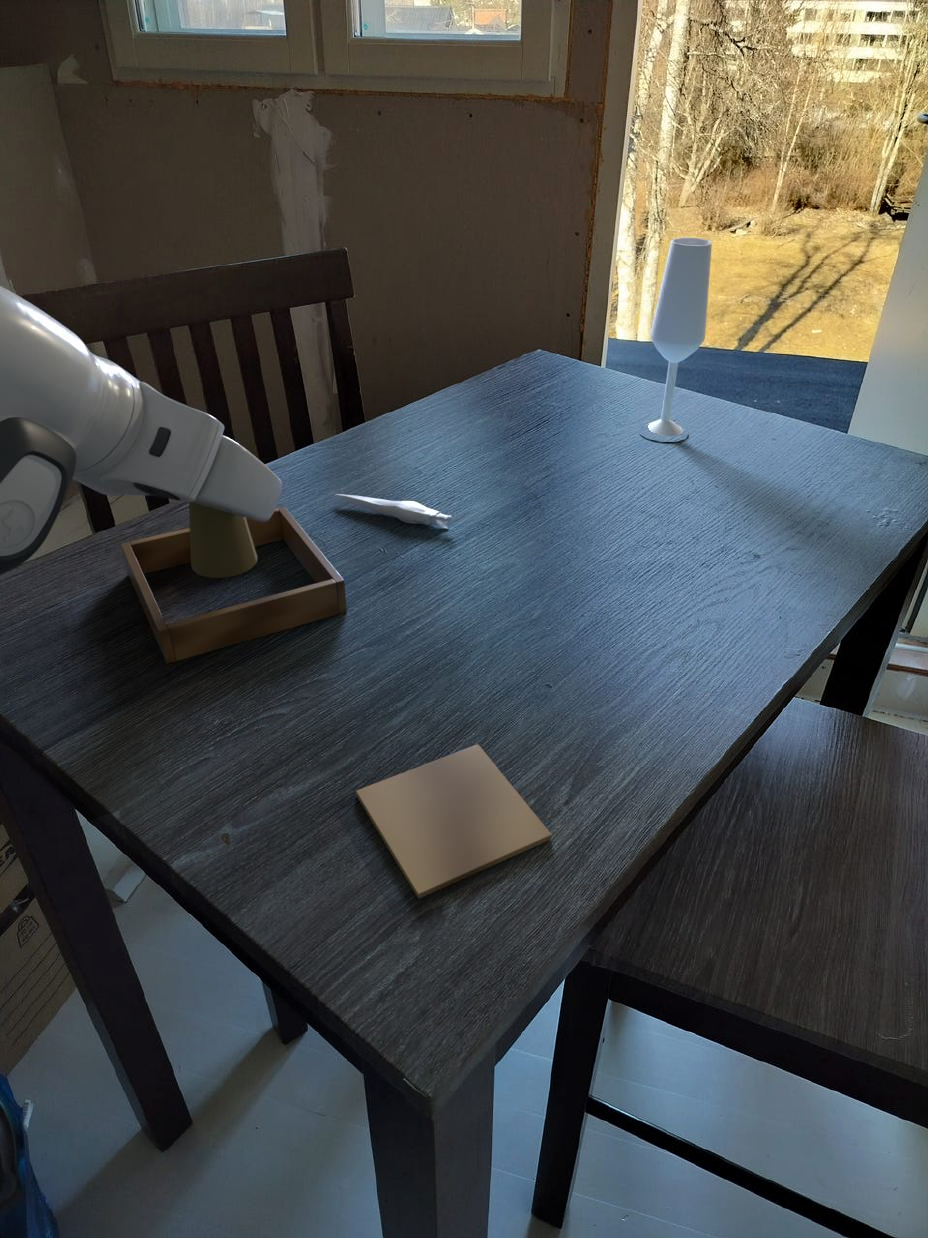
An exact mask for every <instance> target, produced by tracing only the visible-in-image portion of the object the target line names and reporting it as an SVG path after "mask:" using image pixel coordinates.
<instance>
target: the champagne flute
mask: <svg viewBox="0 0 928 1238" xmlns="http://www.w3.org/2000/svg"><path fill="white" fill-rule="evenodd" d="M712 245H713V242H712V241H711V240H708V239H704V238H699V237H676V238H672V239H671V241H670V244H669V249H668V252H667V258H666V263H665V267H664V271H663V276H662V280H661V284H660V285H661V286H660V288H659V293H658V299H657V303H656V307H655V311H654V317H653V321H652V325H651V331H650V338H651V341H652V343H653V345H654V347H655V349H656V350H657V351H658V353H660V356H661V357H663V358H664V359H665V360H666V361H668V366H667V373H666V382H665V388H664V395H663V402H662V409H661V415H660V419H657V420H654V421H651V422H650V423H648V424H649V425H648V428H649V430H650V431H651V432H653V433H657V434H658V435H666V436H675V435H677V436H678V435H680V434H682V433H683V429H684V428H683V427H681V426H680V425H678V424H677V423H675V422H674V421H673V420H671V415H672V409H673V401H674V394H675V388H676V380H677V375H678V367H679V363H681V362H683V361H684V360H686V359H688V358H689V357H690V356H691V355H693V354H694V353H695V352H697V350H698V349H699V348H700V347H701V346H702V344H703V343H704V341H705V339H706V331H707V315H708V304H709V303H708V302H709V301H708V300H709V289H710V288H709V287H710V275H711V262H712V261H711V260H712V249H713V247H712ZM682 428H683V429H682Z"/></svg>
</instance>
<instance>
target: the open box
mask: <svg viewBox="0 0 928 1238" xmlns="http://www.w3.org/2000/svg"><path fill="white" fill-rule="evenodd" d="M246 520H247V524H248V527H249V530H250V534H251V537H252V540H253V544H254V547H255V548H256V547H259V546H263V545H268V544H272V543H274V542H275V543H276V542H280V541H284V543H285V544H286V545H287V547H288V548H289V549H290V551H291V552H292V553H293V554H294V556H295V557H296V559H297V560H298V561H299V563H300V564H301V565H302V566H303V568H304V569H305V571H306V572H307V573H308V574H309V576H310V577H311V578H312V580H313V581H314V582H315V583H313V584H308V585H305V586H302V587H297V588H294V589H290V590H287V591H282V592H279V593H277V594H276V593H275V594H272V595H269V596H263V597H261V598H256V599H253V600H249V601H247V602H242V603H239V604H235V605H232V606H227V607H224V608H220V609H215V610H212V611H209V612H206V613H202V614H197V615H194V616H191V617H187V618H184V619H179V620H176V621H173V622H169V623H168V622H167V623H166V621H165V617H164V616H163V614H162V611H161V609H160V607H159V605H158V603H157V601H156V598H155V596H154V594H153V592H152V590H151V587H150V585H149V583H148V580H147V579H146V577H145V574H146V575H147V574H151V573H153V572H158V571H162V570H165V569H170V568H175V567H177V566H182V565H185V564H191V547H190V527H187V528H182V529H178V530H174V531H169V532H166V533H161V534H156V535H152V536H148V537H143V538H138V539H135V540H130V541H126V542H121V543H120V548H121V551H122V555H123V559H124V563H125V568H126V571H127V575H128V577H129V579H130V582H131V584H132V587H133V588H134V591H135V594H136V596H137V598H138V600H139V603H140V605H141V607H142V610H143V613H144V614H145V616H146V619H147V621H148V624H149V626H150V628H151V631H152V633H153V636H154V637H155V638H154V639H155V640H156V643H157V644H158V647H159V649H160V651H161V654H162V656H163V659H164V661H165V663H166V664H167V665H168V664H172V663H175V662H178V661H182V660H185V659H189V658H193V657H197V656H199V655H203V654H207V653H210V652H213V651H217V650H220V649H224V648H227V647H230V646H234V645H237V644H241V643H244V642H247V641H251V640H255V639H257V638H261V637H265V636H268V635H271V634H272V635H273V634H275V633H279V632H282V631H286V630H289V629H293V628H296V627H299V626H302V625H306V624H309V623H313V622H317V621H321V620H323V619H327V618H331V617H334V616H338V615H340V614H345V613H347V612H348V607H347V597H346V595H347V594H346V584H345V583H346V582H345V580H344V578H343V577H342V576H341V574H340V573H339V572H338V570H336V568H335V567H334V566H333V565H332V563H331V562H330V561H329V560H328V559H327V557H326V556H325V555H324V553H323V552H322V551H321V550H320V549H319V547H318V546H317V545H316V543H315V542H314V541H313V540H312V539H311V538H310V536H309V535H308V533H307V532H306V531H305V530H304V528H302V526H301V525H300V524H299V522H298V521H297V520H296V519H295V518H294V516H293V515H292V514H291V513H290V511H289V510H288V509H287V507H286V506H284V505H283V506H278V507H276V508H275V510H274V513H273V514H272V516H271V518H270V519H269V520H268V521H267V522H258V521H255V520H252V519H249V518H246Z"/></svg>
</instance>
